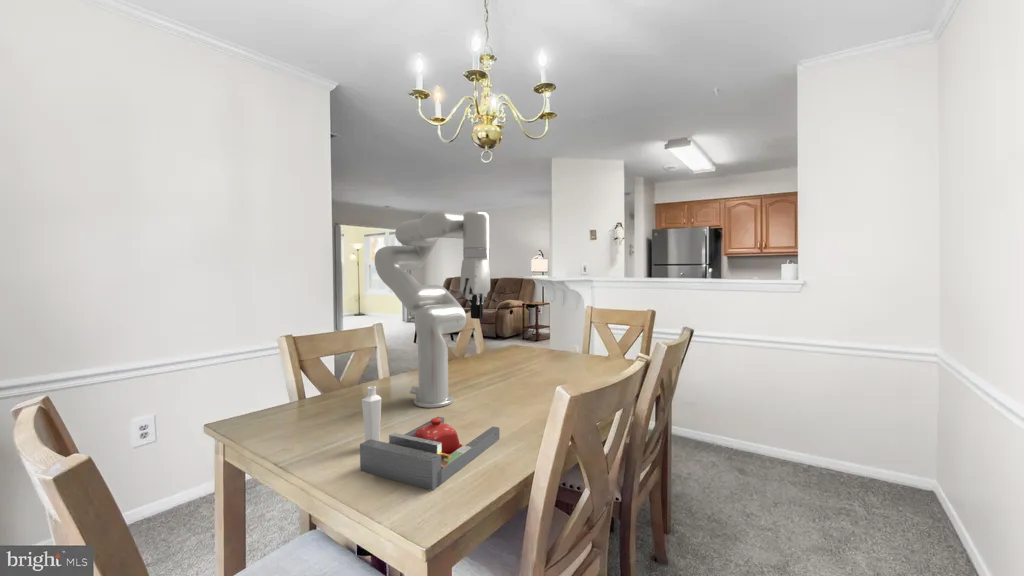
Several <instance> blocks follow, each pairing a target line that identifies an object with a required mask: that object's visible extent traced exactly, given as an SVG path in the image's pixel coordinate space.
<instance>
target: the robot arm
mask: <svg viewBox="0 0 1024 576" xmlns="http://www.w3.org/2000/svg"><path fill="white" fill-rule="evenodd" d="M394 234H395V235H394V237H395V238H396V240H397V241H398V242H399V243H400V244H401V245H386V246H383V247H381V248H379V249H378V250H377V251H375V254H374V267H375V270H376V273H377V275H378V277H379V278H380V281H382V283H384V284H385V286H387V287H388V288H389V289H390V290H391V291H392V292H393V294H394V295H395V297H396V298H398V300H399V301H400V302H401V303H402V305H403V306H404V308H405V309H406V310H407V311H408V312H410V313H411V314H414V320H413V321H414V322H413V323H414V327H415V331H416V333H415V334H416V338H417V339H416V340H417V359H418V360H417V362H418V365H417V366H418V367H417V370H418V372H417V373H418V374H417V375H418V377H417V379H418V386H417V385H416V386H415V385H413V386H411V389H410V390H409V393H410V394H413V395H414V394H415V397H414V398H413V404H414V405H415V406H417V407H420V408H427V409H428V408H430V409H432V408H433V409H434V408H441V407H446V406H448V405H451V404H452V403H453V402H454V397H453V395H452V394H449V349H448V348H449V347H448V345H447V342H446V340H445V338H444V336H443V334H447V333H454V332H458V331H460V330H462V329H463V328H464V327H465V326H466V325H467V324H466V323H467V315H466V312H465V311H466V310H465V309H464V308H463V306H462V305H461V304H460V303H459V301H458V300H457V299H456V298H455V297H454V296H453V294H451V293H450V292H449V291H448V289H446V287H444V286H441V285H439V284H420V282H418V280H416V278H415V277H414V276H413V275H412V274H410V273H409V272H407V270H408V271H409V270H410V271H411V270H412V271H413V270H419V269H421V268H423V266H424V265H425V263H426V262H427V259H429V256H430V254H431V253H432V251H433V249H435V246H436V243H437V241H439V239H440V238H441V239H443V238H444V239H445V238H446V239H461V240H462V244H463V245H462V251H463V252H462V253H463V254H462V255H463V258H462V262H461V269H460V280H459V282H460V283H459V286H460V288H459V290H460V293H461V294H462V295H464V298H465V300H468V302H469V303H468V304H469V305H470V318H471V319H477V320H480V319H483V318H484V303H485V298H487V297H488V293H489V292H490V291H491V269H490V215H489V213H487V212H485V211H481V210H471V211H467V212H465V213H460V212H452V211H436V212H435V211H434V212H429V213H425V214H424V215H422V216H421V218H417V219H411V220H406V221H403V222H401V223H400V224H398V225H397V226H396V228H395V232H394ZM405 270H406V271H405Z"/></svg>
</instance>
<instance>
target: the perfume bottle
mask: <svg viewBox="0 0 1024 576" xmlns="http://www.w3.org/2000/svg"><path fill="white" fill-rule="evenodd" d="M366 389H367V395H366V396H365V397H363V398H362V399H361V409H362V417H363V427H364V438H365V441H367V440H369V439H372V440H376V441H380V438H381V437H380V433H381V416H382V415H381V414H382V412H381V411H382V397H381V395H378V394H377V386H376V385H370V386H368V387H367V388H366Z"/></svg>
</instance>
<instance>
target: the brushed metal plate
mask: <svg viewBox="0 0 1024 576" xmlns="http://www.w3.org/2000/svg"><path fill="white" fill-rule="evenodd" d="M388 437H389V438H388V443H390V444H394V445H399V446H403V447H408V448H412V449H416V450H421V451H425V452H430V453H434V454H439V455H441V460H443V459H444V458H446V459H449V458H450V454H445V453H442V443H441V442H436V441H431V440H426V439H422V438H417V437H412V436H407V435H404V434H402V433H397V432H393V433H391V434H389V435H388Z"/></svg>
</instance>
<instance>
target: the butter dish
mask: <svg viewBox="0 0 1024 576" xmlns="http://www.w3.org/2000/svg"><path fill="white" fill-rule="evenodd" d="M430 421H431V423H432V424H430V425H426V426H424V427H421V428H419V429H418V430H417V431H416V433H415V437H417V438H422V439H426V440H431V441H436V442H441V443H442V453H445V454H452V453H453V452H454V451H456V450H457V449H459V448H460V447H462V446H463V444H462V443H460V439H459V436H458V432H457V430H456V429H455V428H454V427H452V426H451V425H449V424H447V423H445V422H444V423H440V422H441V419H440V418H436V417H433V418H431V420H430Z"/></svg>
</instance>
